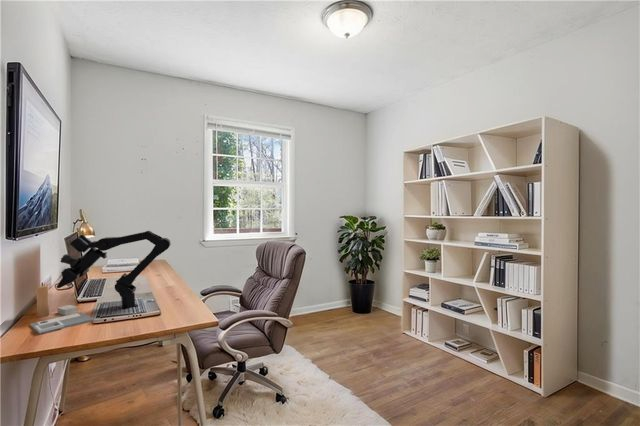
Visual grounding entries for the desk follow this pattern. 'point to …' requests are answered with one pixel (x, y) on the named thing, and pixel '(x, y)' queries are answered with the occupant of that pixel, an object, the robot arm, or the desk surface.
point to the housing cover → (67, 310)
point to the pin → (42, 301)
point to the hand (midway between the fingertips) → (61, 285)
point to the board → (60, 322)
